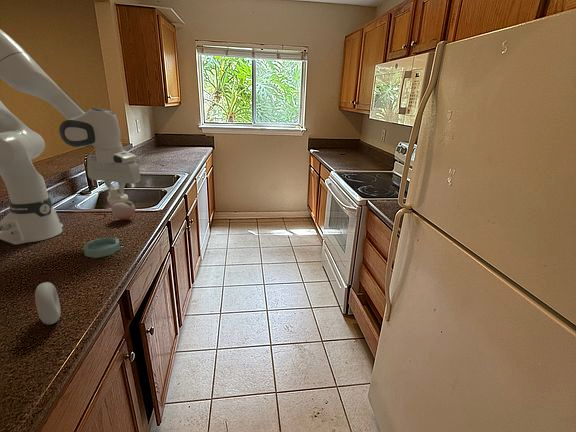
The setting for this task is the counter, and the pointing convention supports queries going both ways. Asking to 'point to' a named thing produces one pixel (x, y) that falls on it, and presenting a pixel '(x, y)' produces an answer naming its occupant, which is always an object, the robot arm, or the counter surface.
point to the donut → (47, 303)
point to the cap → (116, 196)
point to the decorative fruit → (123, 210)
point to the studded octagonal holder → (101, 247)
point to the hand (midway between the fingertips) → (116, 192)
